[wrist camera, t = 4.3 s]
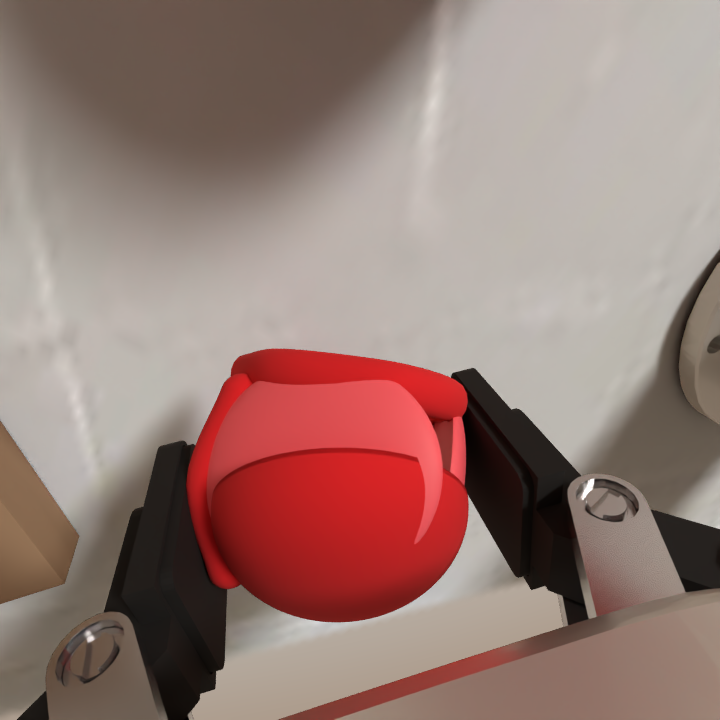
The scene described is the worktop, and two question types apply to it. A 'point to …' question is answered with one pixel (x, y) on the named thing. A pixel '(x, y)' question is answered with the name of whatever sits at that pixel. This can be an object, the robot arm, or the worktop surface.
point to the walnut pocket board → (29, 528)
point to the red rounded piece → (330, 482)
